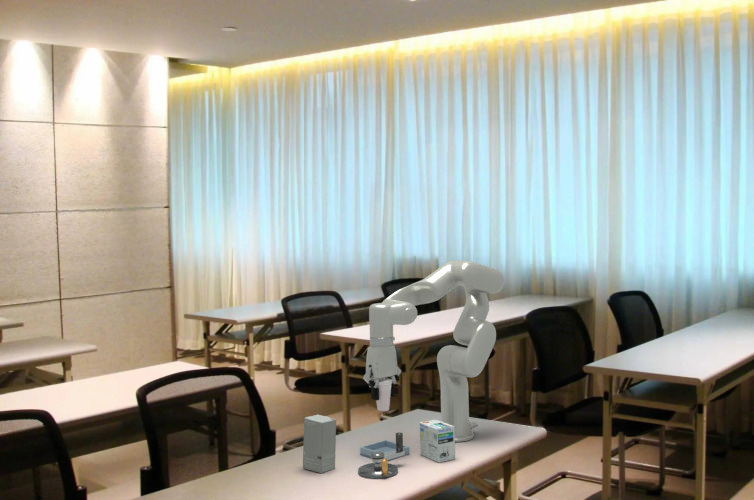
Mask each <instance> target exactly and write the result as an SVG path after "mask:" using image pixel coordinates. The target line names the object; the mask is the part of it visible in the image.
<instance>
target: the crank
mask: <svg viewBox="0 0 754 500" xmlns="http://www.w3.org/2000/svg"><path fill="white" fill-rule="evenodd" d="M395 443H396V451H392V452H389V453H386V454H384V453H383V452H372V453H371V458H370V459H372V463H374V462H376V463H380V462H381V459H387V460H389V461H391V460H390V459H393V458H396V457H399V458H401V457H400V456H403V455H405V451H403V445H404V434H403V432H402V431H401V432H395ZM403 457H404V456H403ZM396 459H397V458H396ZM393 460H394V459H393Z"/></svg>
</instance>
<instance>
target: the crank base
mask: <svg viewBox="0 0 754 500" xmlns="http://www.w3.org/2000/svg"><path fill="white" fill-rule="evenodd" d="M357 473H358V476H360V477H362V478H365V479H372V480H381V479H389V478H392V477H394V476H396V475H397V474H398V473H399V468H398V466H397V465H395V464H392V463H389V462H388V461H387V459H381V462H380V463H376V462H371V463H367V464H362V465H361V466H359V467H358V468H357Z"/></svg>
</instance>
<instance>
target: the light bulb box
mask: <svg viewBox="0 0 754 500" xmlns="http://www.w3.org/2000/svg"><path fill="white" fill-rule="evenodd" d="M419 446H420V447H419V449H420V451H419V452H420V456H423V457H425V458H427V459H430V460H432V461H434V462H437V463H442V462H449V461H453V460H456V442H455V428H454V426H453V425H450V424H446V423H444V422H441V420H438V419H430V420H425V421H420V422H419Z"/></svg>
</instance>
